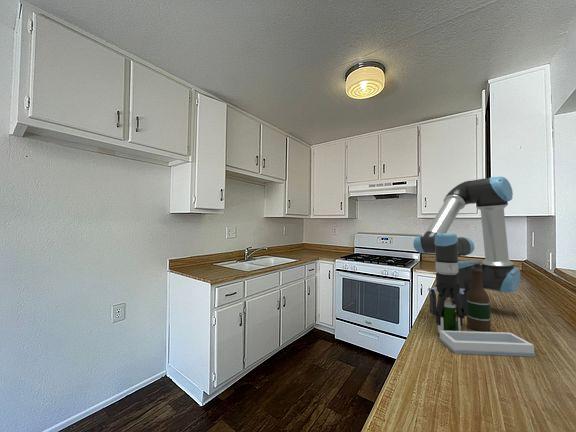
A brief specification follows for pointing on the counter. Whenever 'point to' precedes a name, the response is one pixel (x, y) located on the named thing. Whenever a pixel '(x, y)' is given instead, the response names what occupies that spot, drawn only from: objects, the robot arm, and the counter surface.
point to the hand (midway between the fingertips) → (449, 333)
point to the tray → (486, 343)
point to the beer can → (449, 316)
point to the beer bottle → (478, 304)
